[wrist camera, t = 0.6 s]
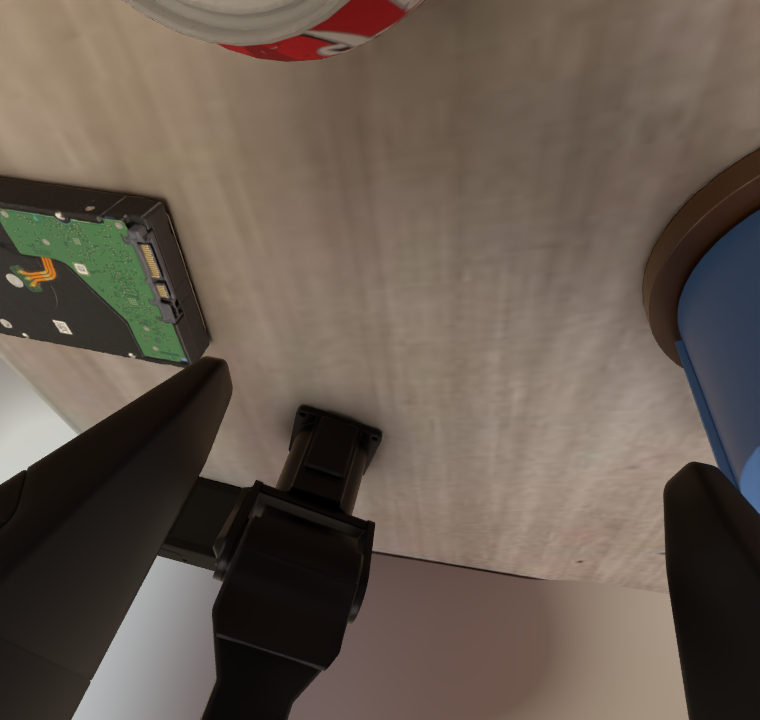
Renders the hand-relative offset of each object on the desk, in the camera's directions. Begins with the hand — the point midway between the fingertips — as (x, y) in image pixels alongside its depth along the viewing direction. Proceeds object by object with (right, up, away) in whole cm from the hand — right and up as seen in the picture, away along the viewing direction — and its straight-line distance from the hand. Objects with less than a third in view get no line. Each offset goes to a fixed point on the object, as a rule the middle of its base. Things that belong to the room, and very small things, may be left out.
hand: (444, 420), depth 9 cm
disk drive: (-19, +7, +19) cm, 28 cm away
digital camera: (-17, -13, +39) cm, 44 cm away
